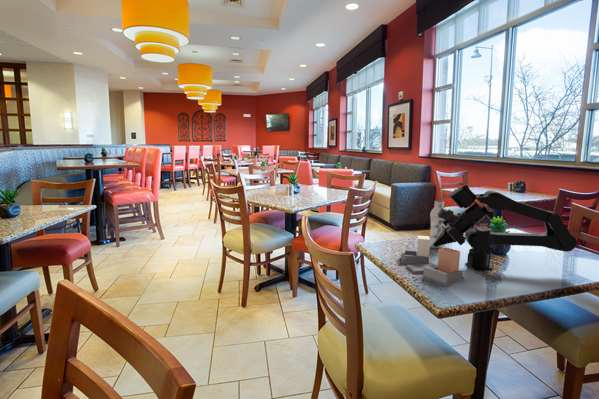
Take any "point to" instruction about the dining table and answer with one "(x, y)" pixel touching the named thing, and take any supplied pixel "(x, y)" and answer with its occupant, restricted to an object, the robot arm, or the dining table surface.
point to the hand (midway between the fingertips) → (433, 245)
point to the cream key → (423, 246)
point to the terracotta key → (448, 260)
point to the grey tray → (429, 269)
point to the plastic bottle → (436, 224)
